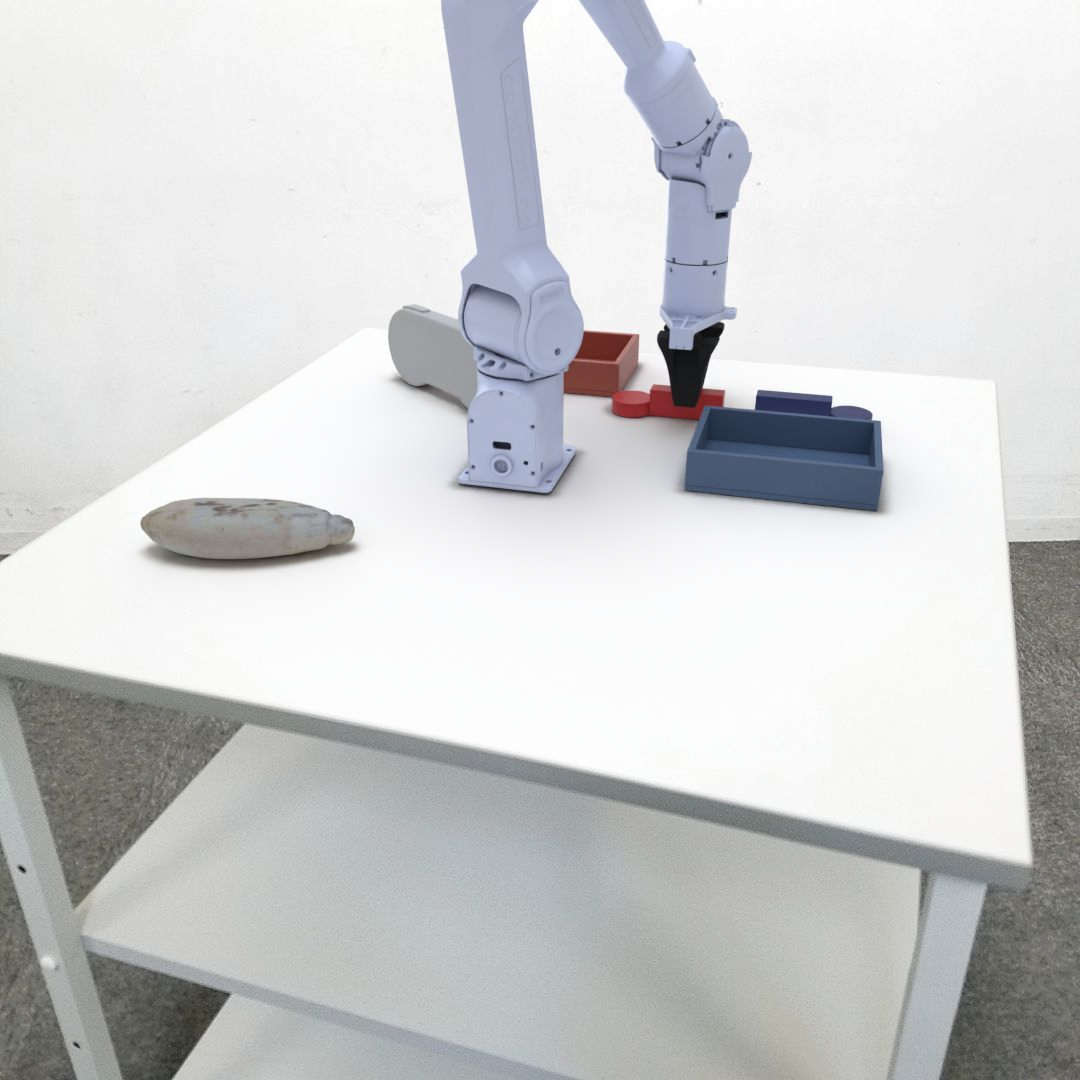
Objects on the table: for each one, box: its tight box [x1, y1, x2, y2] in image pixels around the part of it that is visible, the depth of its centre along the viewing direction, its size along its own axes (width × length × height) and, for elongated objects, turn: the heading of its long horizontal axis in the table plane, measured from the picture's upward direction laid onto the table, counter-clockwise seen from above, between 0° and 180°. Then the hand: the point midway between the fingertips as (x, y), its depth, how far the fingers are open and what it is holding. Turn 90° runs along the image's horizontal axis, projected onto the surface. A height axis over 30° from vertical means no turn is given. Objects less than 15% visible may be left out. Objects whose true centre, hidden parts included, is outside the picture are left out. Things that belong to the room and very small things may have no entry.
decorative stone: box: [140, 497, 356, 560], centre depth 75 cm, size 6×16×3 cm, turn 93°
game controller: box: [387, 303, 477, 410], centre depth 103 cm, size 20×2×8 cm, turn 39°
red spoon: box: [611, 383, 726, 421], centre depth 100 cm, size 11×4×3 cm, turn 75°
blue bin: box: [684, 406, 885, 512], centre depth 87 cm, size 11×15×4 cm
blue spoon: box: [754, 389, 874, 420], centre depth 98 cm, size 11×4×3 cm, turn 75°
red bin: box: [564, 329, 640, 398], centre depth 111 cm, size 11×15×4 cm
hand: (686, 401), depth 100 cm, fingers closed on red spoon, 2 cm apart
